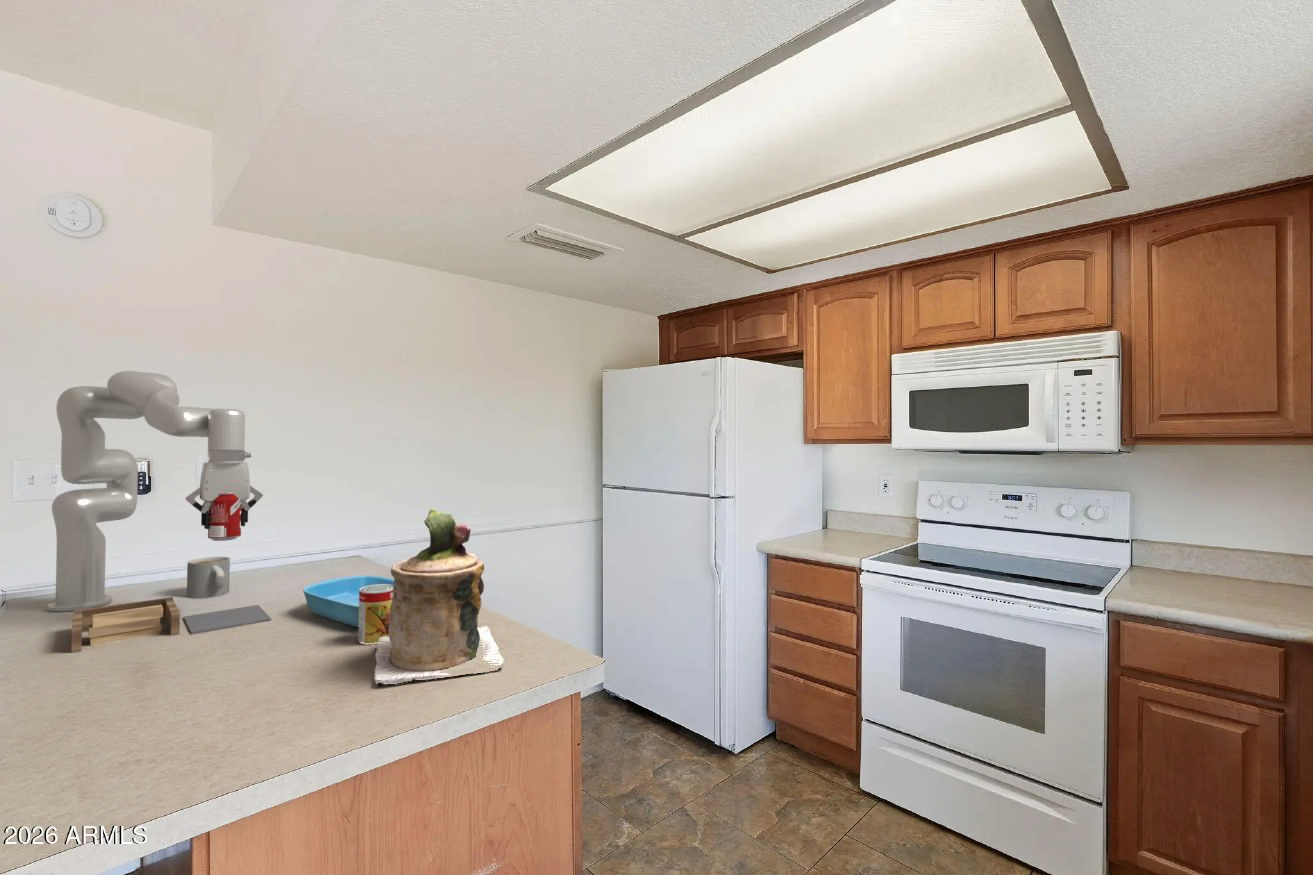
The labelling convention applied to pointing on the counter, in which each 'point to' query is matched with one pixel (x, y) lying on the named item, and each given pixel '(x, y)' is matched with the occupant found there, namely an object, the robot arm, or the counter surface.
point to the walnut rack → (85, 615)
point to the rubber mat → (225, 619)
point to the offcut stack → (125, 624)
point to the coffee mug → (208, 577)
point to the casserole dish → (340, 596)
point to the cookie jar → (435, 609)
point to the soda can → (225, 517)
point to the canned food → (374, 612)
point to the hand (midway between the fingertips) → (224, 526)
